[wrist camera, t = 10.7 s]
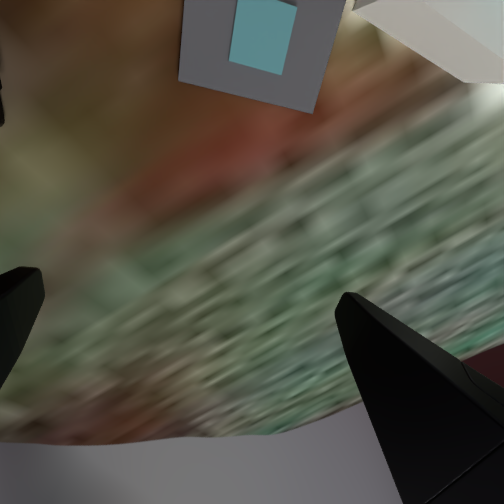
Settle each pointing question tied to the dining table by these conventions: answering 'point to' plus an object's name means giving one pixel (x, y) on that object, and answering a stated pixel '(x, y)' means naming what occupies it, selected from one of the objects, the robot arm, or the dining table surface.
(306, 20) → the card
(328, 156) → the dining table surface
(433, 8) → the white block
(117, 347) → the dining table surface
